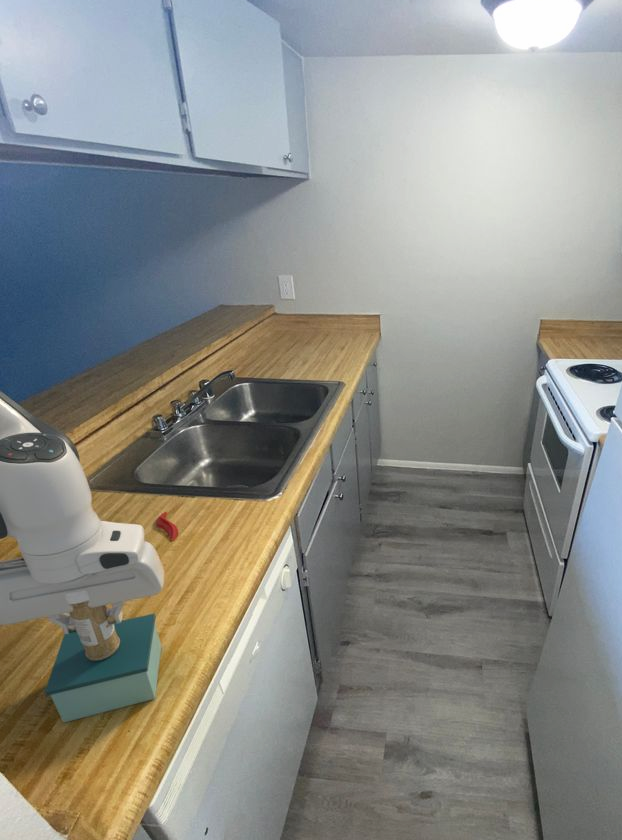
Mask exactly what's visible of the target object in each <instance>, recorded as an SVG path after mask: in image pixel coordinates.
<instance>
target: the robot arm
mask: <svg viewBox="0 0 622 840" xmlns="http://www.w3.org/2000/svg"><path fill="white" fill-rule="evenodd" d="M80 462H81V460H80V454H79V450H78V448H77V446H76V445H75V443H74V442H73V440H72V439H71V438H70V437H69V436H67V435H66V434H65V433H64V432H62V431H61V430H59V429H57V428H56V427H54V426H52V425H50V424H49V423H47V422H45V421H43V420H41V419H39V418H38V417H36V416H35V415H33V414H32V413H30V412H29V411H27V410H26V409H25V408H23V407H22V406H21V405H20V404H18V403H17V402H16V401H14V400H13V399H12V398H10V397H9V396H8V395H6V394H5V392H3V391H1V390H0V540H3V539H5V538H7V537H10V538H13V539H15V540H16V542H17V546H18V549H19V551H20V554H21V556H22V557H16V558H12V559H7V560H3V561H0V625H1V626H8V625H9V626H10V625H14V624H19V623H24V622H28V621H33V620H38V619H43V618H47V620H48V622H50V623H52V624H54V625H56V626H58V627H60V628H62V631H63V632H64V635H65V634H69V633H74V632H77V631H76V629H75V626H74V624H73V621H72V619H71V616H70V612H73V607H72V606H70V605H71V604H68V603H67V601H66V598H65V594H67V593H71V592H76V591H82V590H85V591H87V593H88V595H89V598H90V599H89V600H87V601H89V603H88V606H89V607H91V608H94V607H99V606H104V605H107V606H110V605H111V607H110V608H108V610H109V611H108V612H109V613H108V615H107V620H108V621H109V625H111V624H117V623H121V622H122V620H123V617H124V613H123V608H124V606H125V602H128V601H129V602H130V601H134V600H138V599H143V598H144V599H145V598H148V597H154V596H158V595H159V594H160V593H161V591H162V590H163V588H164V585H165V576H166V575H165V570H164V567H163V564H162V562H161V561H162V560H161V559H160V556H159V554H158V552H157V550H156V548H155V547H154V546H153V545H152V544H151V543H150V542H149V541H146V540H145V529H144V527H143V526H142V525H141V524H136V523H123V522H114V521H106V520H101V519H100V517H99V516H98V514H97V513H96V512H95V510H94V508H93V506H92V501H93V495H92V490H91V488H90V485H89V482H88V479H87V476H86V474H85V471H84V469H83V466H82V465H81V463H80Z"/></svg>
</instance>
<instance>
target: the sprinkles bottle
mask: <svg viewBox="0 0 622 840" xmlns="http://www.w3.org/2000/svg"><path fill="white" fill-rule="evenodd" d="M65 598H66V601H67V603H68V604H71V605H70V606H72V607H73V612H69V615H70V616H71V619H72V621H73V624H74V626H75V629H76V631H77V633H78V636H79V638H80V641H81V643H82V644H83V646H84V649H85V651H86V652H85V654H86V657H87V658H88V659H90V660H94V661H98V660H102V659H105V658H108V657H109V656H111V655H112V654H113V653H114V652H115V651H116V650H117V649H118V648H119V645H120V639H119V637H118V636H117V633H116V631H115V628H114V624H111V625H109V621H108V620H107V615H108V613H109V612H108V611H109V607H108V605H104V606H99V607H94V608H91V607H89V606H88V603H89V601H87V600H89V599H90V598H89V595H88V593H87V591H85V590H82V591H76V592H71V593H67V594H65Z"/></svg>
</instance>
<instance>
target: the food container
mask: <svg viewBox="0 0 622 840" xmlns="http://www.w3.org/2000/svg"><path fill="white" fill-rule="evenodd" d="M156 616H157V615H156V614H155V613H150V614H146V615H141V616H137V617H131V618H127V619H122V622H121V623H117V624H114V628H115V631H116V633H117V636H118V637H119V639H120V645H119V648H118V649H117V650H116V651H115V652H114V653H113V654H112V655H111V656H109V657H108V658H105V659H102V660H98V661H94V660H90V659H88V658H87V657H86V654H85V652H86V651H85V649H84V646H83V644H82V643H81V641H80V638H79V636H78V633H77V632H74V633H69V634H65V633H64V635H63V638H62V641H61V644H60V646H59V649H58V652H57V655H56V658H55V661H54V664H53V667H52V670H51V672H50V676H49V678H48V680H47V684H46V687H45V690H44V695H45V696H47V697H48V696H50V697H51V700H52V702H53V704H54V706H55V708H56V710H57V712H58V714H59V717H60V718H61V720H62V722H63V723H68V722H71V721H75V720H79V719H83V718H87V717H91V716H94V715H99V714H103V713H107V712H110V711H113V710H117V709H121V708H126V707H129V706H132V705H136V704H137V705H138V704H140V703H141V704H142V703H144V702H149V701H152V700H155V699H156V693H157V687H158V686H157V685H158V679H159V669H160V663H161V654H162V642H161V639H160V636H159V633H158V630H157V626H156Z"/></svg>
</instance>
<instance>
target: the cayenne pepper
mask: <svg viewBox="0 0 622 840" xmlns="http://www.w3.org/2000/svg"><path fill="white" fill-rule="evenodd" d="M167 514H168V511H164V512H163V513H161V514H160V515H159V516H158V517H157V518H156V520H155V523H156V526H157V527H158V528H160V529H161V530H163V531H165V533H166V534H167V535H168V537H169V538H170V542H173V541H175V540H176V539H177V537H178V536H179V529H178V526H176V524H174V522H171V521H170V520H168V519H167V518H166V517H167Z"/></svg>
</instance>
